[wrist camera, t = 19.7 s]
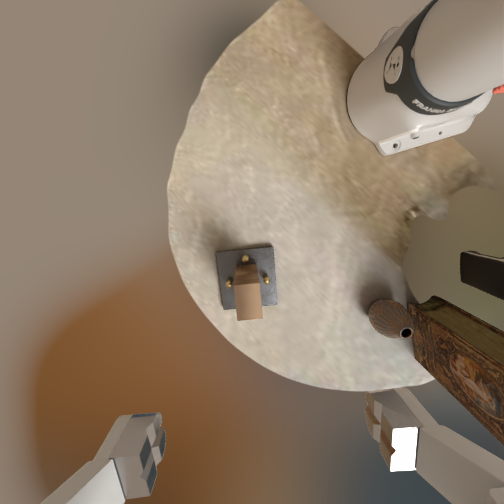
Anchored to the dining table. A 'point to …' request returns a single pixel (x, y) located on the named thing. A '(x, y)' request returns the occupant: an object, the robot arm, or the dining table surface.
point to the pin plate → (246, 257)
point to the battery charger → (483, 272)
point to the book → (462, 358)
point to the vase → (390, 319)
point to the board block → (247, 292)
